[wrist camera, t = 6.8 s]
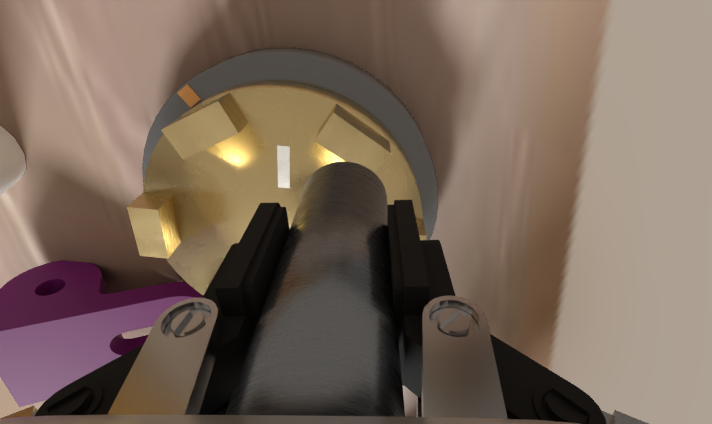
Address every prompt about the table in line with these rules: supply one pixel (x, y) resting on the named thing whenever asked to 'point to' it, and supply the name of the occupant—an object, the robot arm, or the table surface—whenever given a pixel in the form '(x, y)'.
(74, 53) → the table surface
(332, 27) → the table surface
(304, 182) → the brass lugged disc
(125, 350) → the mounting bracket
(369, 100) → the grey round plate
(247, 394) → the pin
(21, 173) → the foam cup
